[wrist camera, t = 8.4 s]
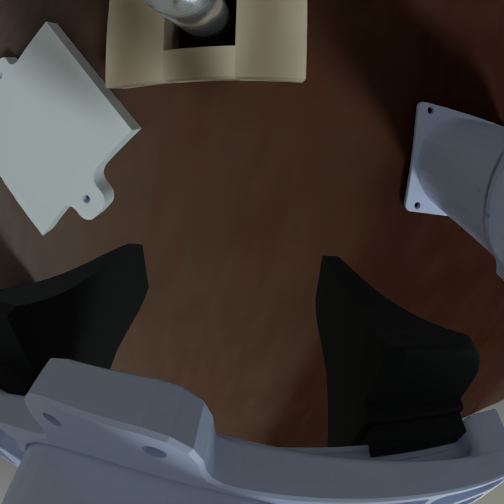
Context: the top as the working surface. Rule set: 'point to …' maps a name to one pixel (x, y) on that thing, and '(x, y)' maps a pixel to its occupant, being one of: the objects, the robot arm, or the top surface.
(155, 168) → the top surface
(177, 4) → the peg
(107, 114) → the mounting plate
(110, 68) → the hole block
